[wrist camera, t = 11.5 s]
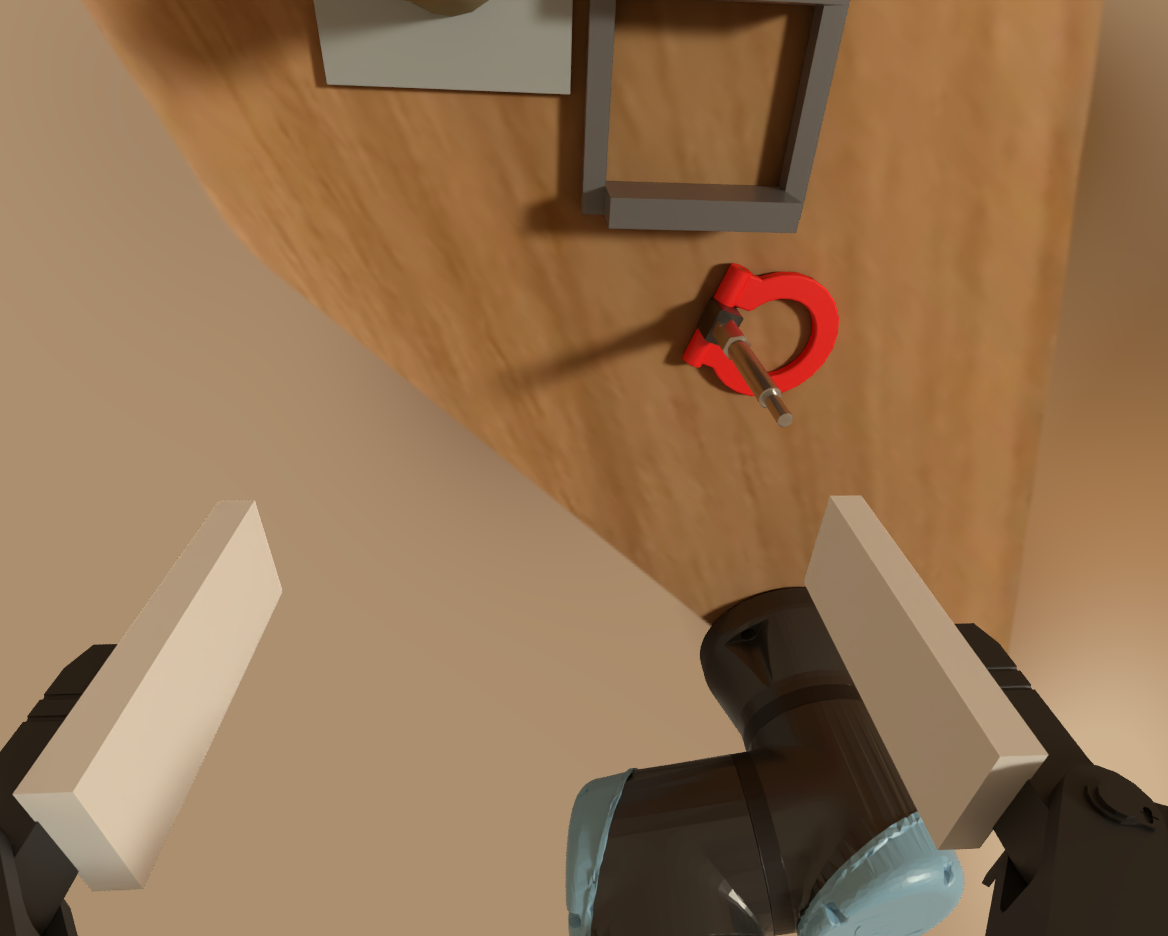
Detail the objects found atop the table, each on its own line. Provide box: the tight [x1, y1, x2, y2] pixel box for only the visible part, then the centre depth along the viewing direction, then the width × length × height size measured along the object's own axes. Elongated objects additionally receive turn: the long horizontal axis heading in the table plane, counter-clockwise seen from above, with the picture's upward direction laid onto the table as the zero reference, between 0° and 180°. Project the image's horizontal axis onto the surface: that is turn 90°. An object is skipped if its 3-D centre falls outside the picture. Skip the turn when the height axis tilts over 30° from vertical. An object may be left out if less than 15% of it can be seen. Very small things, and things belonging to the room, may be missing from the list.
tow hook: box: [682, 263, 839, 427], centre depth 37 cm, size 8×13×9 cm
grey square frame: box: [581, 0, 850, 233], centre depth 32 cm, size 11×12×4 cm
